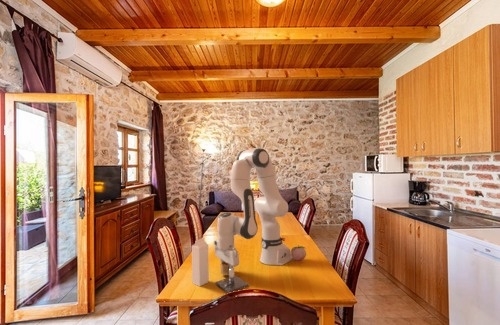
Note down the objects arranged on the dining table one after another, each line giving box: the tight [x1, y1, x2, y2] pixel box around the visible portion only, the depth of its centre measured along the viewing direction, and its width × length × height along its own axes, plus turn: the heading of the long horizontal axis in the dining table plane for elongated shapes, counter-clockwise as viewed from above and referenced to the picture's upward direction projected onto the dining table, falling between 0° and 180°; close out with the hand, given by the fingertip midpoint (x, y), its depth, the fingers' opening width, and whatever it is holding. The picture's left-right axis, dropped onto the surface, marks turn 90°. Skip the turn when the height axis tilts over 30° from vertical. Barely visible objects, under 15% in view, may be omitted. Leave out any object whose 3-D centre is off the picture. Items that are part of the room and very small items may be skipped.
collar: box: [220, 261, 230, 276], centre depth 136 cm, size 6×6×5 cm
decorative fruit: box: [290, 245, 307, 263], centre depth 154 cm, size 9×8×10 cm
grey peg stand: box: [214, 267, 250, 294], centre depth 125 cm, size 12×12×8 cm
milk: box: [191, 237, 210, 287], centre depth 128 cm, size 6×6×22 cm
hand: (227, 269), depth 136 cm, fingers closed on collar, 6 cm apart
